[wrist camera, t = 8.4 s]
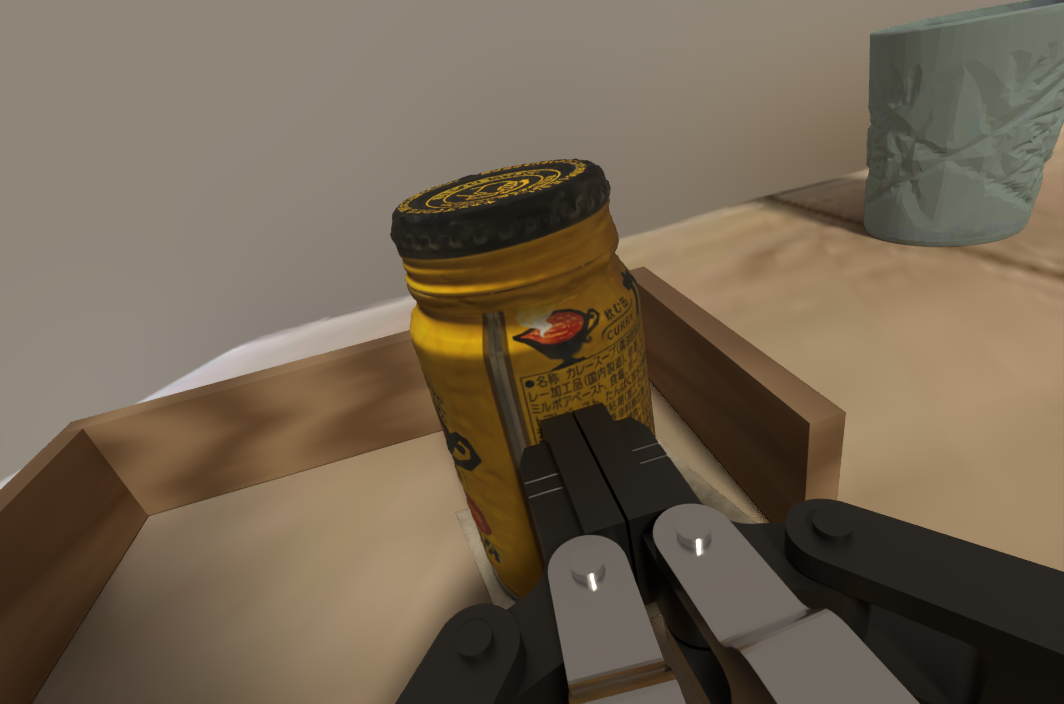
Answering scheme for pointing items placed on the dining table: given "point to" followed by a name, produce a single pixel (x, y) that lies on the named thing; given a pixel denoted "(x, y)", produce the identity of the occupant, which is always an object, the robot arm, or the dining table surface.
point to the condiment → (523, 339)
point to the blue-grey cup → (963, 123)
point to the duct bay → (349, 455)
